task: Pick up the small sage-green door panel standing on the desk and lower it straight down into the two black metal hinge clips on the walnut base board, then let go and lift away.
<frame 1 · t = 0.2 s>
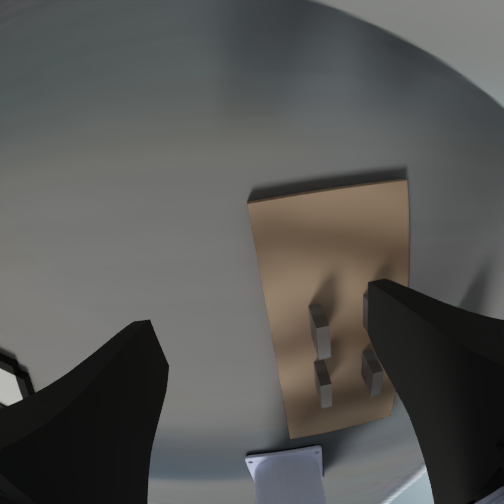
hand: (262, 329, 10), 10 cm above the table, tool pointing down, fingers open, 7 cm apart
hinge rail: (340, 336, 22), on the table
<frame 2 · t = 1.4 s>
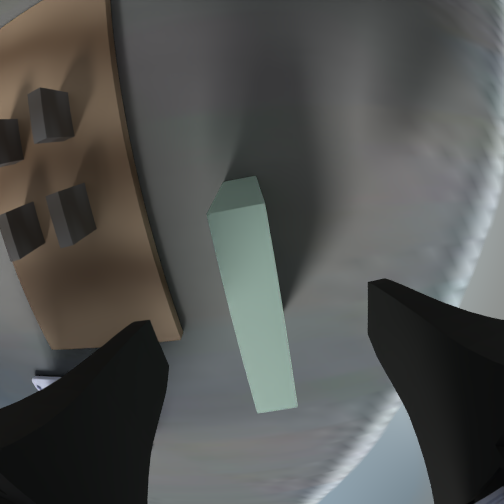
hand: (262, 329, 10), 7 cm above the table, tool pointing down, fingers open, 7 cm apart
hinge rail: (54, 170, 14), on the table
door panel: (254, 254, 16), on the table
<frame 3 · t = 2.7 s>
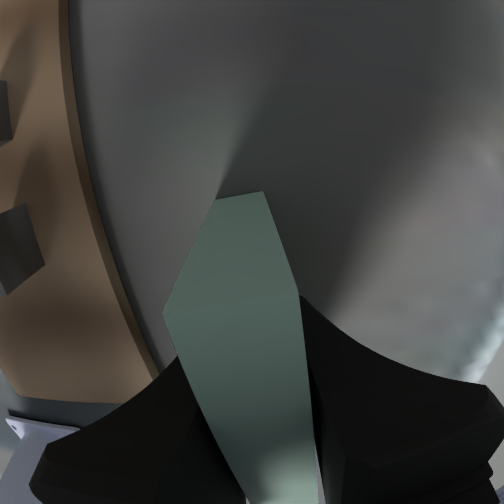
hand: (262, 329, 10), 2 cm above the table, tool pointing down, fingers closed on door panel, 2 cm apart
door panel: (259, 302, 11), on the table, touching gripper
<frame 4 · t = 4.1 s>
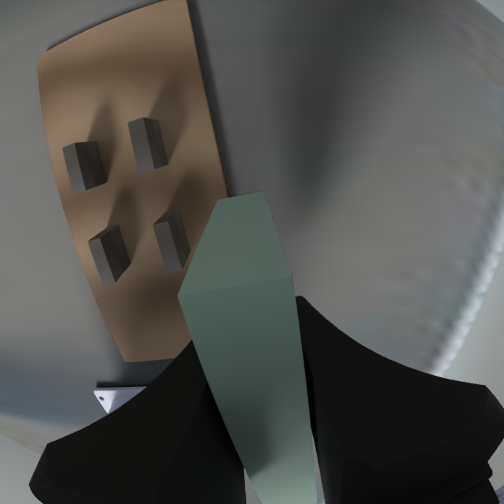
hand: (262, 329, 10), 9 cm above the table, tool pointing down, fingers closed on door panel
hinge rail: (139, 194, 17), on the table
door panel: (260, 295, 12), point 6 cm above the table, touching gripper
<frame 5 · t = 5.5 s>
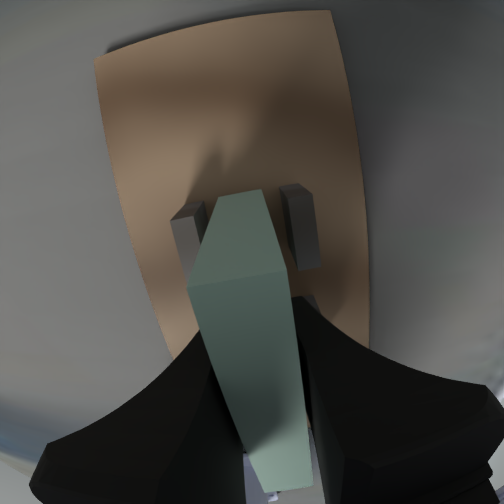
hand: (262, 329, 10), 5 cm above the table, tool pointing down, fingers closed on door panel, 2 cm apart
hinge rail: (257, 271, 14), on the table
door panel: (258, 288, 13), point 1 cm above the table, touching gripper
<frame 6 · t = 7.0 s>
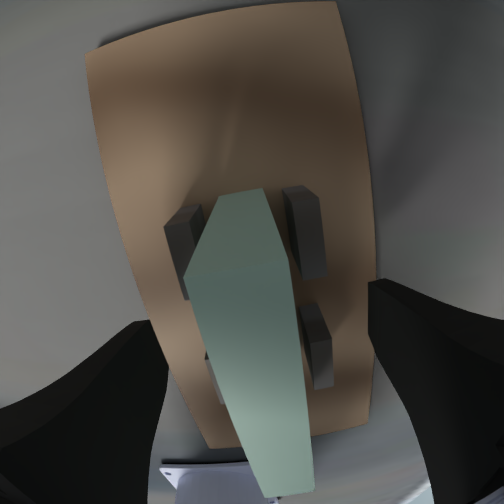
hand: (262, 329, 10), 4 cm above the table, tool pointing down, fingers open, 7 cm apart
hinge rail: (258, 278, 13), on the table
door panel: (259, 289, 13), point 1 cm above the table, touching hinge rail
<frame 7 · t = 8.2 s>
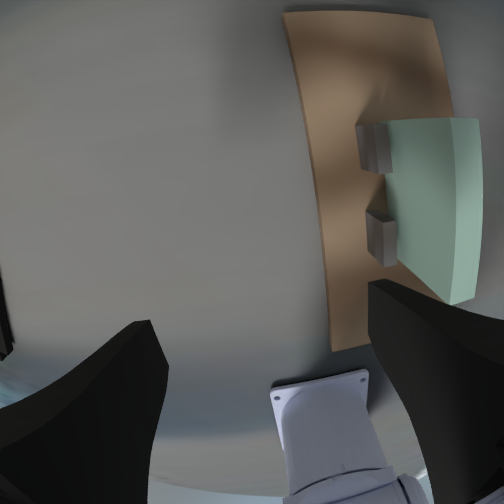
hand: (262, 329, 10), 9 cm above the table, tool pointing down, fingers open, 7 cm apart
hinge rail: (391, 183, 17), on the table
door panel: (397, 187, 17), point 1 cm above the table, touching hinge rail
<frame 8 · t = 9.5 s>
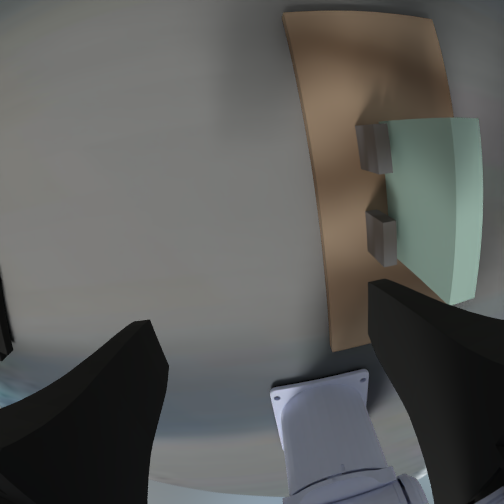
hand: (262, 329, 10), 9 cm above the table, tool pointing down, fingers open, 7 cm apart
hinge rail: (391, 183, 17), on the table
door panel: (397, 187, 17), point 1 cm above the table, touching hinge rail
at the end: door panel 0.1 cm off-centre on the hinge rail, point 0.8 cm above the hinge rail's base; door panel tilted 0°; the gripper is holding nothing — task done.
